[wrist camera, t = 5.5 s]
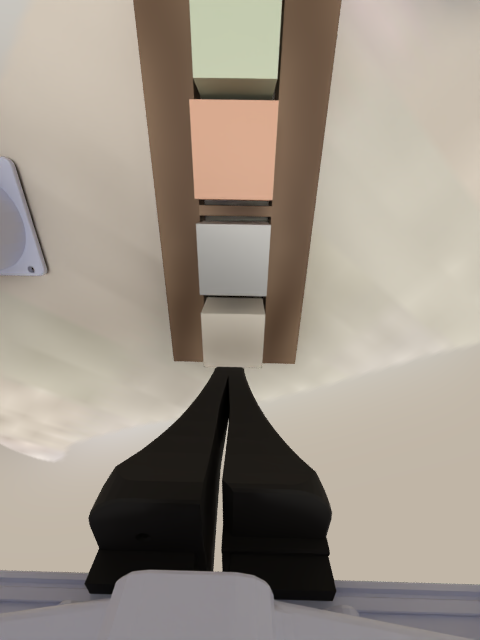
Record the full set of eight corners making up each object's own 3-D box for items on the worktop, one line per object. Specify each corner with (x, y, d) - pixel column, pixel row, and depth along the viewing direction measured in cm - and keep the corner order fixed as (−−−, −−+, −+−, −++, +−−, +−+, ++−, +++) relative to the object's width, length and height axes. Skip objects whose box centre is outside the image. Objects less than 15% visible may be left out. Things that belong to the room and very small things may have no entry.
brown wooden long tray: (180, 346, 23) (174, 360, 21) (144, -28, 13) (125, -74, 11) (289, 348, 23) (294, 363, 21) (333, -26, 13) (350, -72, 11)
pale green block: (202, 101, 15) (193, 77, 12) (198, 2, 13) (186, -52, 10) (271, 102, 15) (277, 78, 12) (276, 3, 13) (285, -51, 10)
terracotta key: (203, 199, 16) (194, 198, 13) (200, 119, 14) (189, 99, 11) (267, 201, 16) (272, 200, 13) (271, 121, 14) (278, 100, 11)
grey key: (206, 281, 18) (199, 295, 15) (204, 220, 16) (195, 223, 13) (263, 282, 18) (266, 296, 15) (266, 221, 16) (270, 225, 13)
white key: (209, 344, 20) (203, 366, 17) (207, 297, 18) (201, 313, 16) (259, 345, 20) (262, 368, 17) (262, 298, 18) (265, 314, 15)
